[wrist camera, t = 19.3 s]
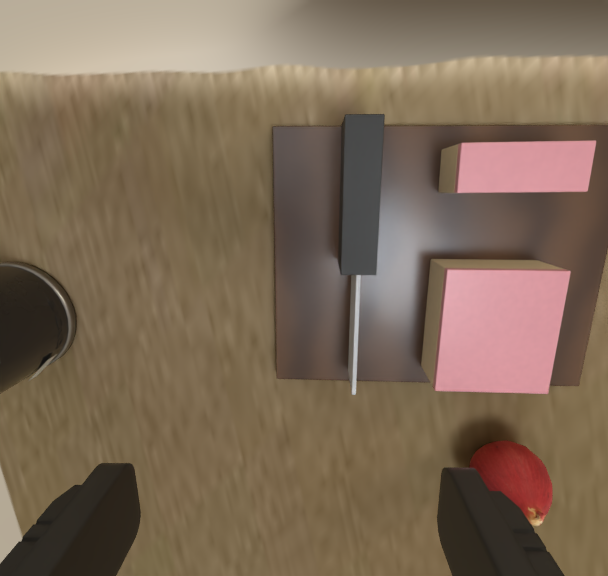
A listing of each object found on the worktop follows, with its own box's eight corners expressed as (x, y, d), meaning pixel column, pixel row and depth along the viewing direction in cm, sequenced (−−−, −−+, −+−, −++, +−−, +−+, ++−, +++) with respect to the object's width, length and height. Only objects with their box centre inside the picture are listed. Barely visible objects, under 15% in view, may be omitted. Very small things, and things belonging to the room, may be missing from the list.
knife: (341, 125, 27) (344, 114, 23) (375, 125, 27) (384, 113, 23) (335, 369, 31) (337, 394, 28) (364, 370, 31) (370, 395, 28)
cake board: (277, 373, 33) (276, 379, 32) (273, 128, 28) (272, 125, 27) (571, 380, 32) (579, 386, 31) (622, 126, 27) (634, 124, 26)
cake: (420, 366, 31) (434, 391, 27) (430, 258, 29) (447, 269, 25) (519, 368, 31) (548, 394, 27) (537, 259, 28) (571, 271, 25)
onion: (520, 474, 34) (577, 557, 27) (455, 477, 35) (494, 560, 27) (523, 419, 33) (585, 489, 25) (456, 422, 33) (497, 493, 26)
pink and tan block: (437, 192, 28) (456, 193, 24) (441, 149, 27) (461, 142, 23) (550, 191, 27) (588, 191, 23) (556, 147, 26) (597, 140, 23)
